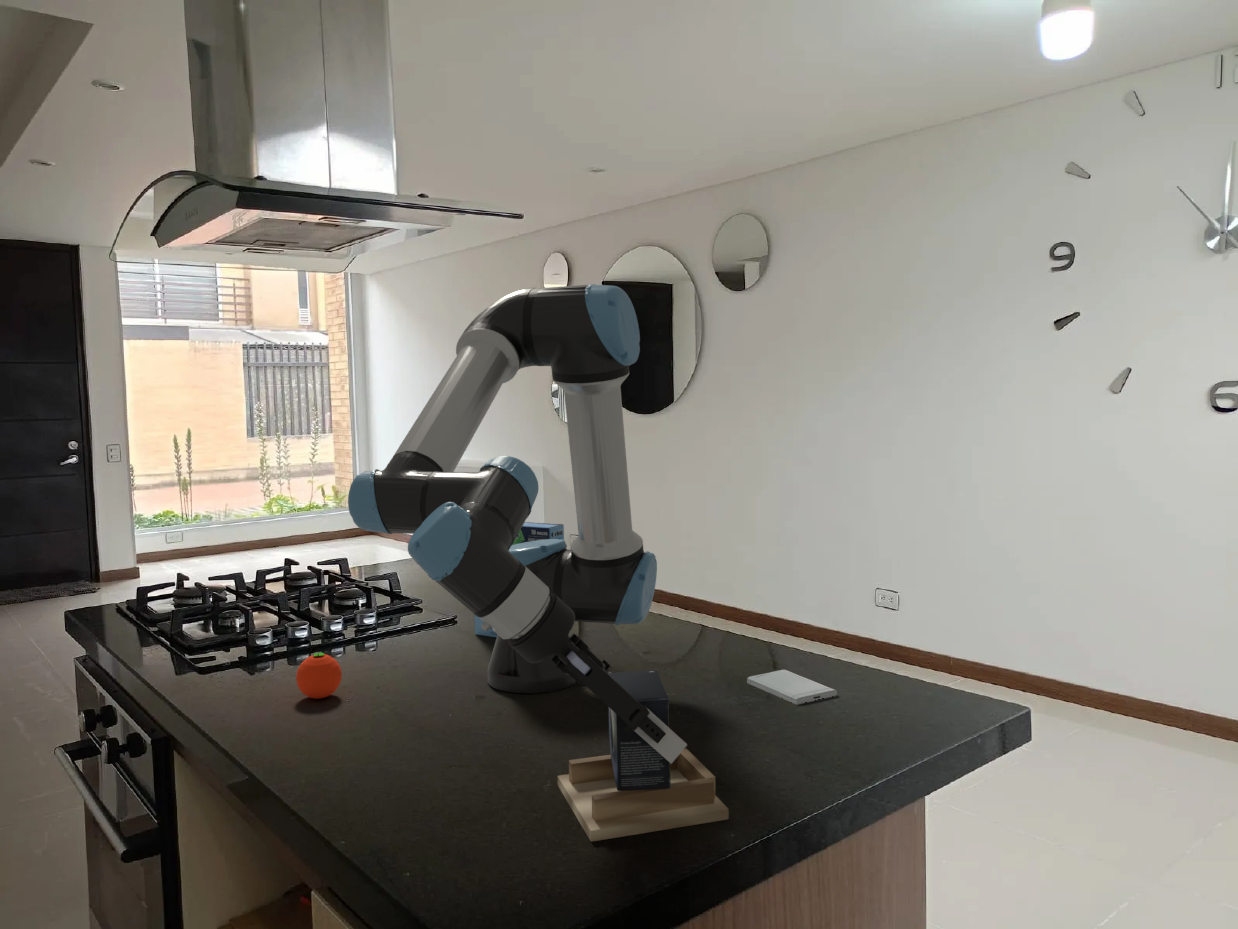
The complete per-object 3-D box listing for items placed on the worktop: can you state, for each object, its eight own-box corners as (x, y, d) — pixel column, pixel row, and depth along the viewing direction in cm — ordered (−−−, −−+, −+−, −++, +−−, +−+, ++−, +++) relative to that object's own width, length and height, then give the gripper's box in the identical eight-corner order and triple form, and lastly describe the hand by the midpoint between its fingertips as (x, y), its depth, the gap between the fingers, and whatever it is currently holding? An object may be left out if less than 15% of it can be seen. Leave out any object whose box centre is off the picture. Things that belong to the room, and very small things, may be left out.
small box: (606, 755, 112) (605, 670, 112) (659, 752, 113) (659, 668, 112) (614, 792, 102) (612, 699, 101) (672, 789, 102) (671, 697, 102)
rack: (557, 785, 113) (557, 755, 112) (680, 768, 117) (679, 739, 117) (590, 841, 98) (590, 808, 98) (728, 819, 103) (728, 787, 103)
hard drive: (746, 676, 151) (796, 697, 140) (785, 668, 155) (837, 688, 144) (746, 686, 151) (796, 708, 141) (785, 678, 155) (837, 698, 145)
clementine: (299, 690, 150) (297, 647, 150) (343, 686, 152) (342, 644, 151) (294, 706, 142) (293, 661, 142) (341, 702, 144) (340, 658, 143)
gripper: (487, 616, 114) (605, 720, 119) (528, 674, 90) (674, 801, 95) (528, 570, 115) (643, 676, 120) (580, 616, 91) (721, 745, 97)
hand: (657, 732), depth 108 cm, fingers open, 13 cm apart
